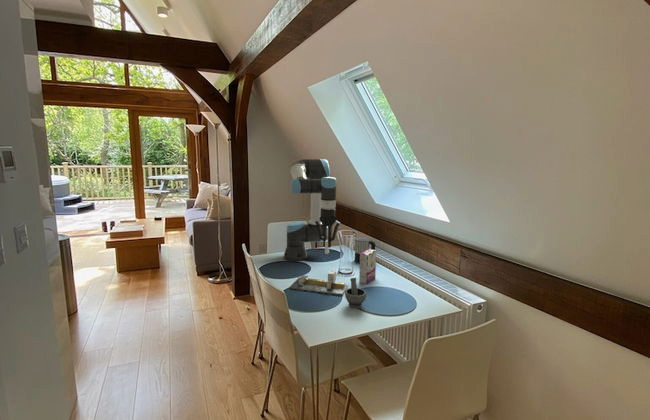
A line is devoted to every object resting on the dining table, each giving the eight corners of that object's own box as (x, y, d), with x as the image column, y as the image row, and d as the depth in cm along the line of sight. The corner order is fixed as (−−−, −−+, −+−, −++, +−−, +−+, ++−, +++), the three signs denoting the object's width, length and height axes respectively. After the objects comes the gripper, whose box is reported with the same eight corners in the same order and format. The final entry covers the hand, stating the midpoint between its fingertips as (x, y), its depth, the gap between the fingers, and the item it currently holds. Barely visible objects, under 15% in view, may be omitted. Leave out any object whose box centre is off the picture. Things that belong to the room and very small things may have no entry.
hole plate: (297, 280, 192) (297, 278, 191) (347, 287, 184) (347, 285, 184) (289, 288, 180) (289, 286, 180) (342, 296, 172) (342, 293, 172)
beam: (300, 280, 189) (300, 275, 188) (345, 286, 182) (345, 280, 181) (295, 285, 182) (295, 279, 182) (341, 291, 175) (341, 286, 175)
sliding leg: (330, 283, 185) (330, 270, 184) (335, 283, 184) (336, 270, 183) (325, 288, 177) (326, 275, 176) (331, 289, 177) (331, 276, 175)
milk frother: (360, 264, 220) (361, 241, 217) (344, 257, 232) (345, 236, 230) (376, 260, 228) (377, 238, 225) (360, 254, 241) (361, 233, 238)
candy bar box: (367, 276, 200) (368, 248, 197) (375, 278, 197) (376, 250, 194) (358, 282, 191) (359, 253, 188) (366, 284, 188) (368, 255, 185)
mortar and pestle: (367, 310, 158) (369, 285, 156) (347, 311, 156) (348, 286, 154) (361, 299, 169) (362, 275, 167) (342, 300, 167) (343, 276, 165)
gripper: (313, 208, 174) (312, 253, 178) (338, 210, 170) (337, 256, 175) (317, 205, 181) (317, 249, 185) (342, 207, 177) (341, 252, 182)
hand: (327, 253), depth 180 cm, fingers closed
